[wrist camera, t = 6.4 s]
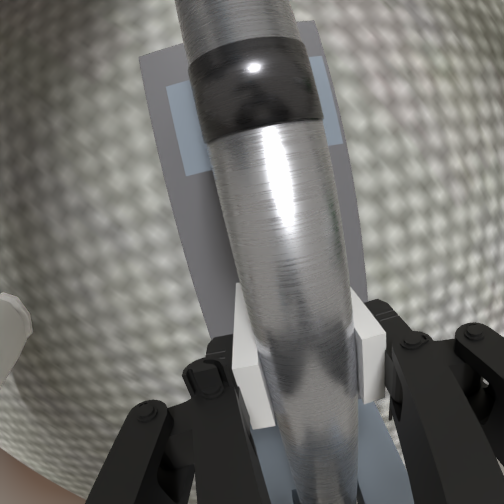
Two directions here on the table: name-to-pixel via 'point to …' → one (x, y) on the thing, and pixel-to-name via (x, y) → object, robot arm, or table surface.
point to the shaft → (281, 227)
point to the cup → (12, 332)
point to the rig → (222, 261)
